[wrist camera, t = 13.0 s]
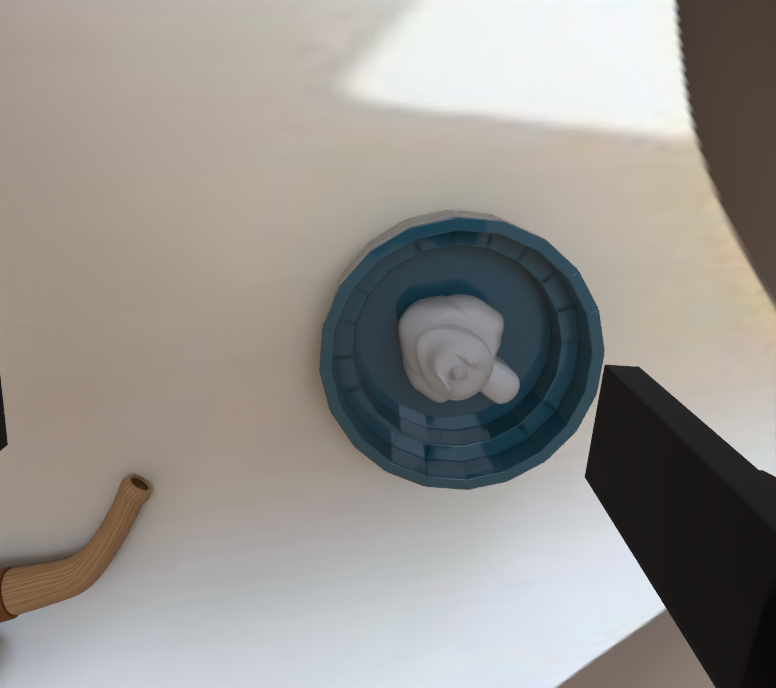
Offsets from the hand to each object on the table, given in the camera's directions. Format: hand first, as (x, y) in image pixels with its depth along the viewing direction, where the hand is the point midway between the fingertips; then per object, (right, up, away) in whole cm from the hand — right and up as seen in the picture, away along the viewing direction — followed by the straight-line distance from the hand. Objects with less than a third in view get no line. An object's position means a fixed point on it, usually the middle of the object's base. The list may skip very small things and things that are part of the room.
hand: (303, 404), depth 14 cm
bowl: (+5, +2, +21) cm, 21 cm away
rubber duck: (+5, +2, +20) cm, 21 cm away
